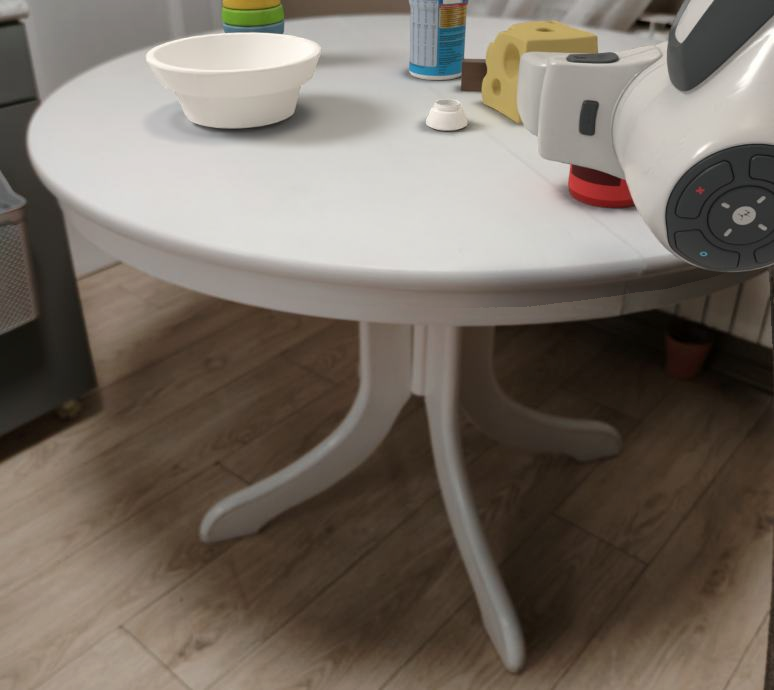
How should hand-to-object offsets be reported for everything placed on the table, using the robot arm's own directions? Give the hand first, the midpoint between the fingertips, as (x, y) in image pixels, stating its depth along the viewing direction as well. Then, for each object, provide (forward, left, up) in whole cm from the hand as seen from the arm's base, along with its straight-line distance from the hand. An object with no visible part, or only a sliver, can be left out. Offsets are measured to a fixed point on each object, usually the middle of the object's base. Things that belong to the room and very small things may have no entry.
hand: (648, 64), depth 62 cm
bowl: (+43, -32, -15) cm, 56 cm away
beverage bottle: (+20, -56, -15) cm, 62 cm away
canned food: (0, -11, -15) cm, 19 cm away
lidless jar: (+17, -31, -15) cm, 39 cm away
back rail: (+4, -48, -15) cm, 51 cm away
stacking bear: (+48, -60, -15) cm, 78 cm away
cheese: (+6, -39, -15) cm, 42 cm away
